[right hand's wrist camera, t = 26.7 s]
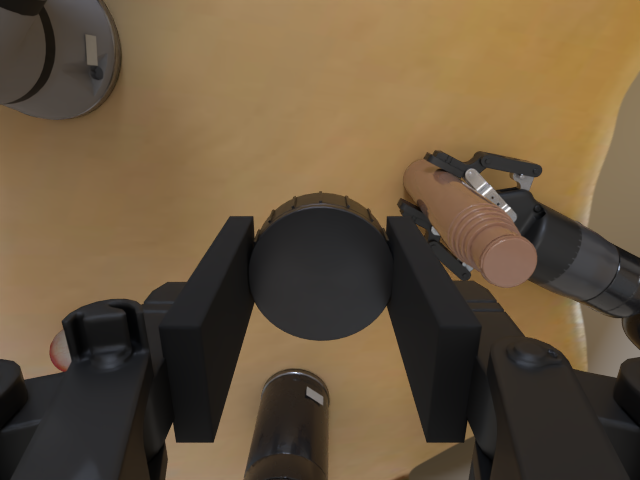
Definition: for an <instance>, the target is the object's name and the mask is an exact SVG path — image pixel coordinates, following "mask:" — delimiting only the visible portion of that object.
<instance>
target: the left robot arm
mask: <svg viewBox="0 0 640 480" xmlns="http://www.w3.org/2000/svg"><path fill="white" fill-rule="evenodd" d="M424 159H425V160H426V161H428V162H430V163H432V164H433V165H435V166H437V167H439V168H441V169H443V170H445V171H447V172H449V173H451V174H453V175H455V176H456V177H458V178H460V179H461V177H462V178H463V179H464V180H465V181H466V182H467V183H468V185H469V186H470V187H472V188H473V189H475V190H476V191H477V192H479V193H480V194H482V195H483V196H485V197H486V198H487V199H489V200H490V201H492V202H493V203H495V204H496V205H497V206H499V207H500V208H502V209H503V210H504V211H505V212H506V213H507V214H508V215H509V216H510V217H511V219H512V220H513V222H514V224H515V226H516V227H517V229H518V231H519V232H520V234H521V236H522V237H525V238H526V239H527V240H529V241H530V242H531V243H532V244H533V246H534V248H535V249H536V253H537V265H536V268H535V270H534V272H533V274H532V275H531V276H530V277H529V278H528V279H527V280H529V281H531V282H533V283H535V284H537V285H539V286H541V287H543V288H545V289H547V290H549V291H551V292H554V293H556V294H559V295H562V296H565V297H568V298H570V299H573V300H575V301H577V302H579V303H581V304H583V305H585V306H587V307H589V308H591V309H593V310H595V311H597V312H599V313H601V314H603V315H606V316H609V317H613V318H622V326H623V330H624V332H625V334H626V336H627V337H628V338H629V339H630V341H631V342H632V343H633V344H634V345H635V346H636V347H637V348H638V349H639V350H640V258H639V257H637V256H635V255H633V254H631V253H629V252H627V251H625V250H623V249H621V248H619V247H618V246H616V245H614V244H612V243H610V242H608V241H607V240H605V239H604V238H603V237H602V236H600V235H599V234H597V233H596V232H594V231H592V230H591V229H589V228H587V227H585V226H583V225H582V224H581V223H579V222H577V221H574V220H572V219H570V218H568V217H566V216H564V215H562V214H560V213H559V212H557V211H555V210H553V209H551V208H549V207H547V206H545V205H543V204H541V203H540V202H538V201H536V200H535V199H534V197H533V195H532V194H531V192H529V190H530V187H531V184H532V182H533V179H534V177H538V176H539V175H540V174H541V173H542V168H541V166H540V165H537V164H534V163H532V162H529V161H525V160H520V159H516V158H511V157H506V156H501V155H496V154H491V153H486V152H482V151H479V152H476V153H475V154H474V157H473V158H472V159H471V160H469V161H468V162H461V161H459V160H457V159H455V158H453V157H451V156H449V155H447V154H445V153H443V152H442V151H436V150H435V151H434V153H433V155H432V154H430V153H428V152H427V154H426V155H425V157H424ZM485 168H491V169H496V170H501V171H506V172H510V178H511V179H513V180H515V181H516V182H517V187H513V188H507V189H500V190H494V189H493V188H492V187H491V186H490V185H489V184H488V183H487V182H486V181H485V180H484V178H483V177H482V176H481V175H480V174H479V173H481V172H482V171H483V170H484V169H485ZM397 205H398V207H399V208H400V212H401V214H402V215H403V216H411V218H412V220H413V221H414V223H415V224H417V225H419V226H421V227H423V228H425V229H426V233H425V236H424V238H425V239H426V241H427V243H428V244H429V246H430V247H431V249H432V250H433V252H434V253H435V255H436V256H437V258H438V259H439V260H440V261H441V262H442V263H443V264H444V265H445V266H446V267H447V268H449V269H450V270H451V271H452V272H453V273H454V274H455V275H456V276H457V277H459V278H460V279H461V280H463V281H466V280H468V279H469V278H470V277H471V273H470V271H471V270H473V269H474V268H472V267H470V266H469V265H467V264H465V263H463V262H462V261H461V260H459V259H458V258H457V257H456V256H455V255H454V254H452V253H451V252H450V251H449V250H448V249H447V248H446V247H445V246H444V245H443V244H442V243H440V242H439V241H440V235H439V234H438V233H437V231H436V230H435V228H434V227H433V226H432V224H431V223H430V222H429V220H428V219H427V218H426V216H425V215H424V214H423V212H422V211H421V210H420V208H419V207H418V206H416V205H414V204H412V203H410V202H408V201H406V200H404V199H401V198H400V200H399V202H398V204H397ZM328 408H329V392H328V389H327V387H326V385H325V384H324V382H323V381H322V380H321V379H320V378H319V377H317V376H316V375H314V374H312V373H310V372H307V371H304V370H298V369H291V370H285V371H281V372H279V373H277V374H275V375H273V376H272V377H271V378H270V379H269V380H268V381H267V382H266V384H265V385H264V387H263V391H262V395H261V403H260V408H259V412H258V416H257V421H256V425H255V430H254V434H253V439H252V443H251V448H250V452H249V457H248V461H247V466H246V471H245V475H244V480H328Z"/></svg>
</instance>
